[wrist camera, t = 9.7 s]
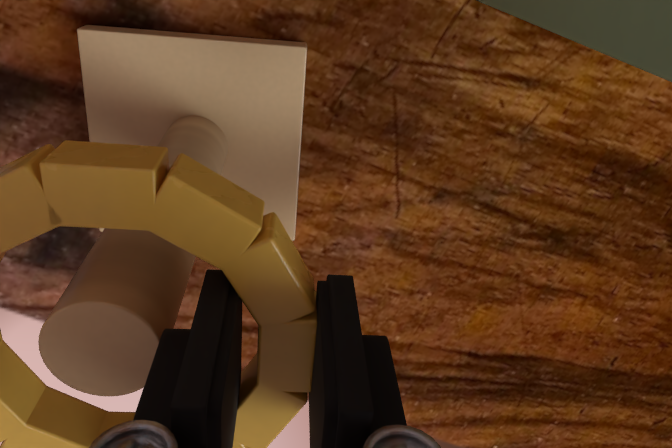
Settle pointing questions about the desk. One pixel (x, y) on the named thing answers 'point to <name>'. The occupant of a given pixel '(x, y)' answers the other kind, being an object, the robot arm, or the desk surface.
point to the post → (179, 137)
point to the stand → (606, 27)
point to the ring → (183, 231)
